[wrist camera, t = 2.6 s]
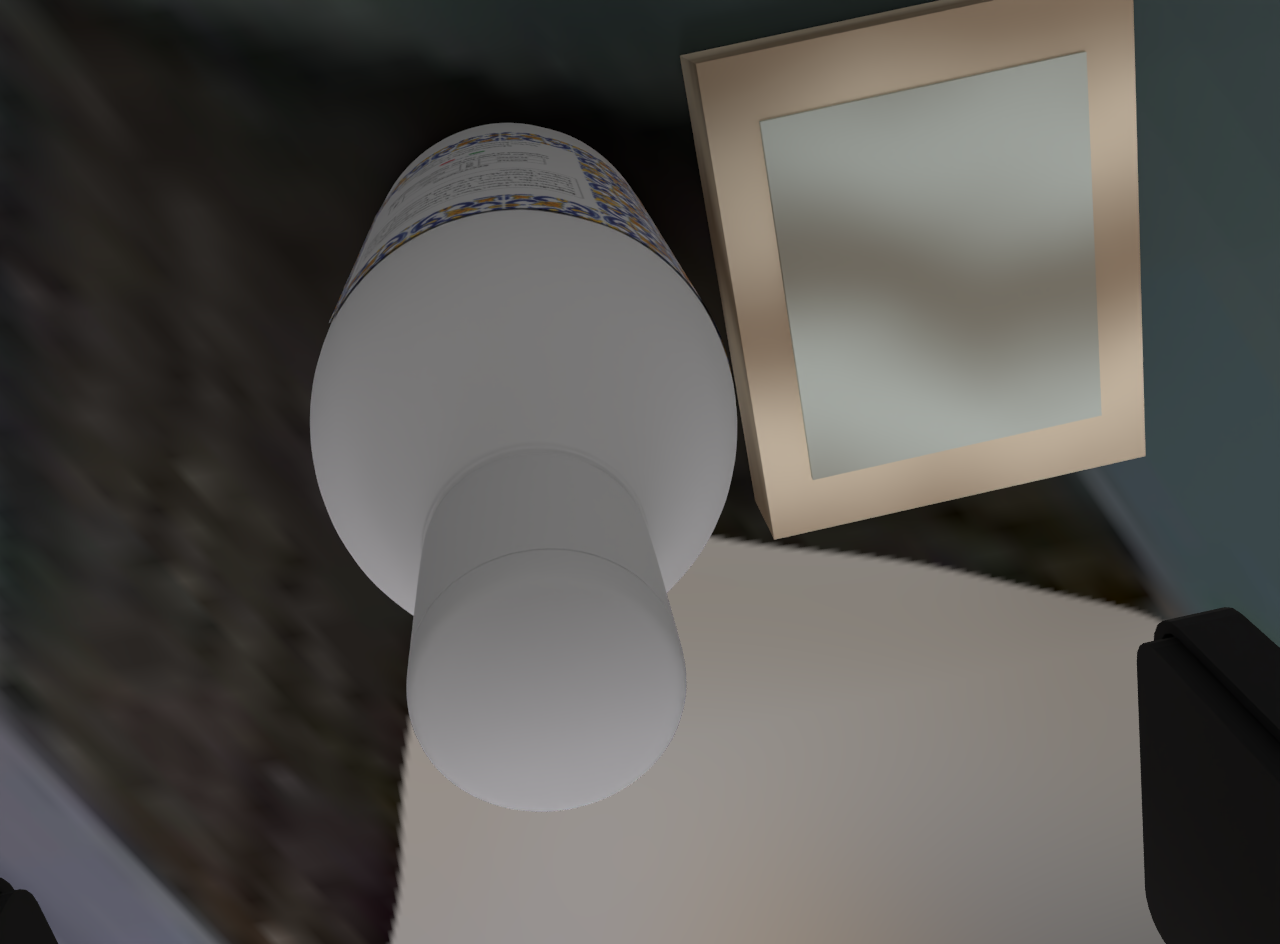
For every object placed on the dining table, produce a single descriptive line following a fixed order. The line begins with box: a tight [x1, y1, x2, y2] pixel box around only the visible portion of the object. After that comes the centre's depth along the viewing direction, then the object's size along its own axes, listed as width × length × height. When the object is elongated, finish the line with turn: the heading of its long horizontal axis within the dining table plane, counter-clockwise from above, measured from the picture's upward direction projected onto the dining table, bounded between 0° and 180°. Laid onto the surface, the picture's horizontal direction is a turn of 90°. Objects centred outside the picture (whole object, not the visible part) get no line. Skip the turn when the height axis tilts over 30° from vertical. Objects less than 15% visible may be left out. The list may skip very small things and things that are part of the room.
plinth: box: [680, 0, 1145, 540], centre depth 31 cm, size 12×10×3 cm
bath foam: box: [310, 123, 737, 812], centre depth 22 cm, size 7×7×20 cm
